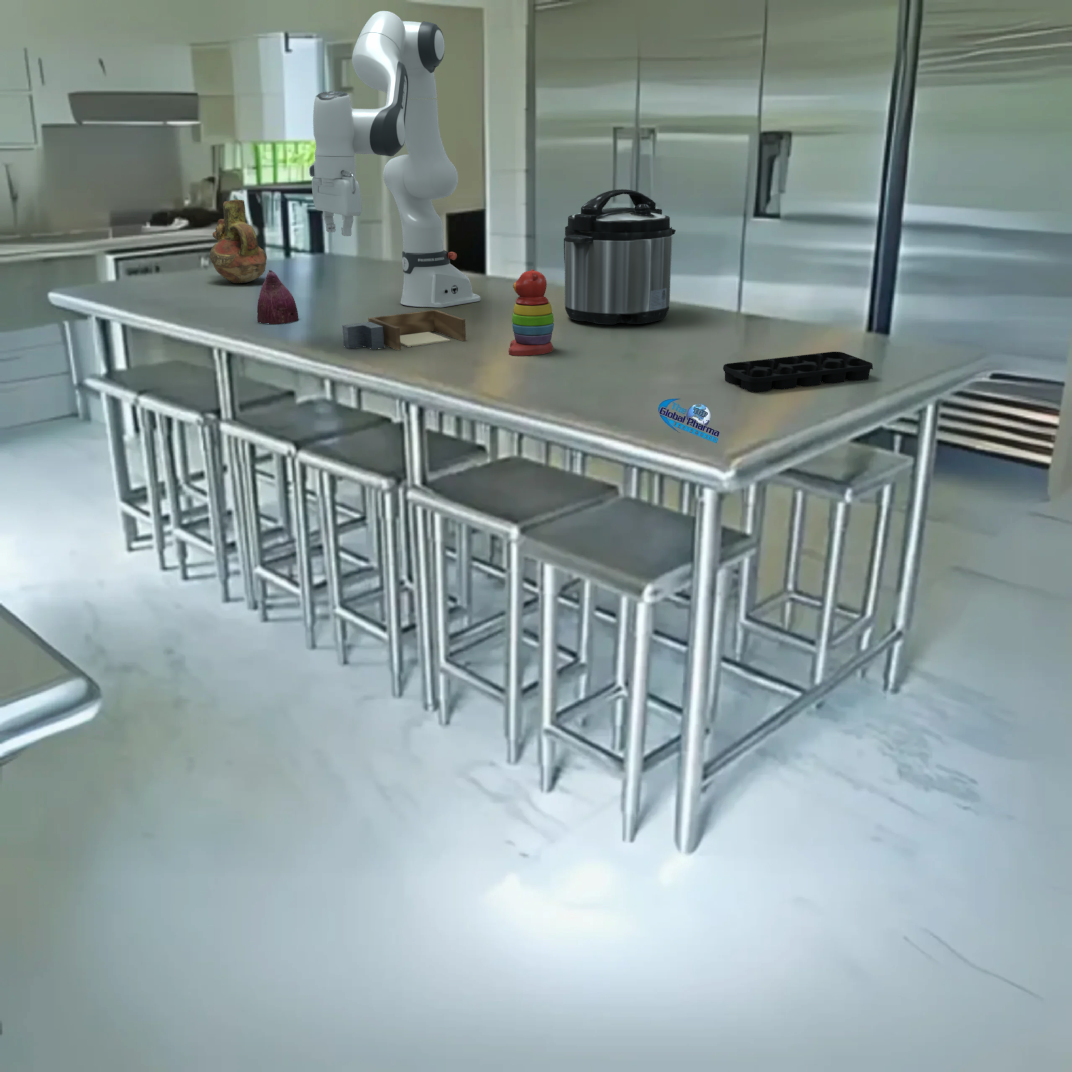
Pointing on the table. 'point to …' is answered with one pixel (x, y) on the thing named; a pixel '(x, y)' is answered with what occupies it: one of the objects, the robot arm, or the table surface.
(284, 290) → the vegetable
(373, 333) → the bracket
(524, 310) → the stacking bear
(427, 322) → the bay
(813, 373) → the black plastic tray
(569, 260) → the pressure cooker
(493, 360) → the table surface
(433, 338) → the pad
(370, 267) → the table surface
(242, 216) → the ceramic vessel
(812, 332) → the table surface
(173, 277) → the table surface
